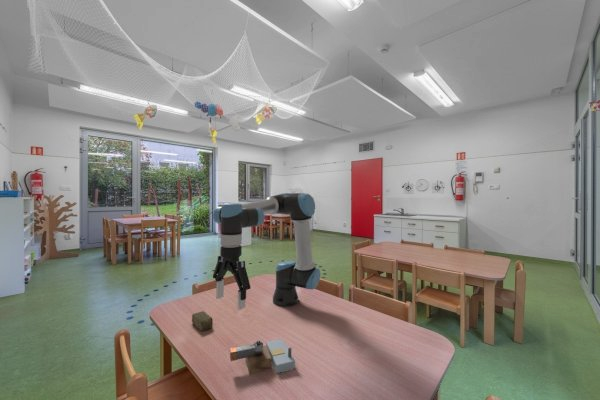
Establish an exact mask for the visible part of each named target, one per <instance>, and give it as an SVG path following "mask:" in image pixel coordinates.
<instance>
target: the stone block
mask: <svg viewBox="0 0 600 400" xmlns="http://www.w3.org/2000/svg"><path fill="white" fill-rule="evenodd" d="M191 322H192V324H193V325H194V326H195V327H196V328H197V329H198V330H199V331H207V330H210V329H211V328H213V317H212V316H210V315H209V314H207V313H206V312H205V311H202V310H201V311H198V312H194V313H193V314H192V315H191Z"/></svg>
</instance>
